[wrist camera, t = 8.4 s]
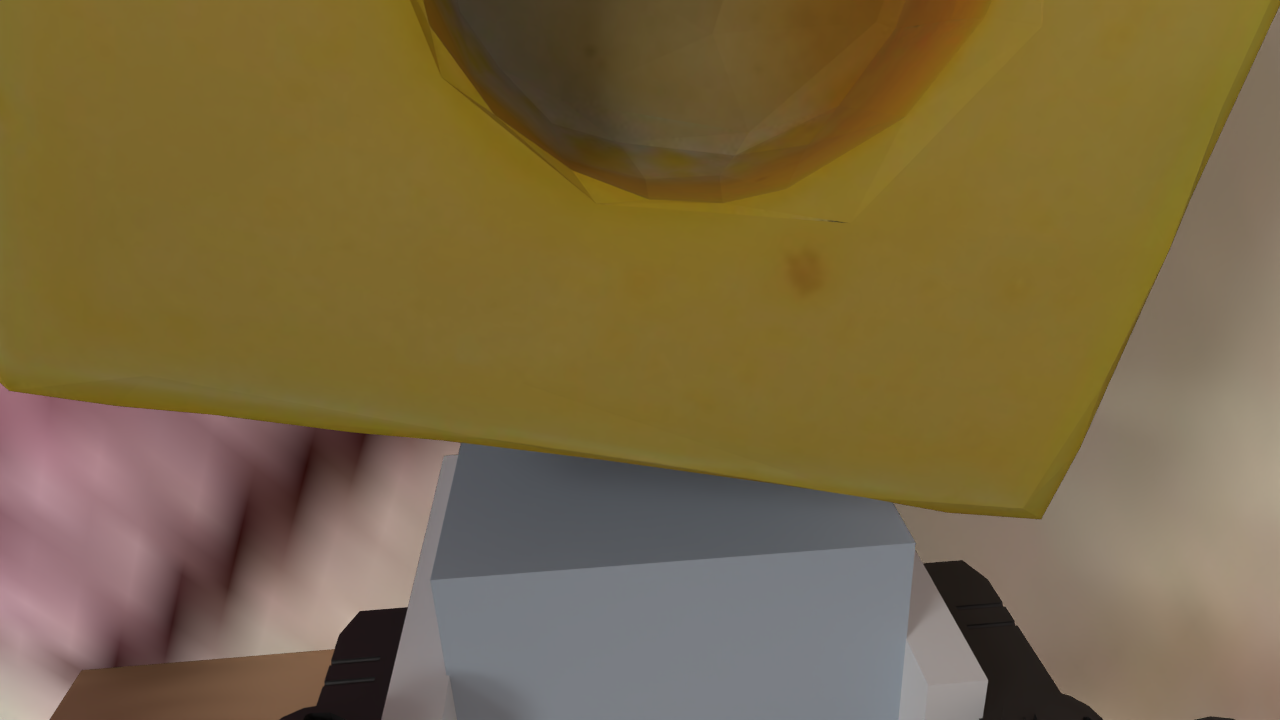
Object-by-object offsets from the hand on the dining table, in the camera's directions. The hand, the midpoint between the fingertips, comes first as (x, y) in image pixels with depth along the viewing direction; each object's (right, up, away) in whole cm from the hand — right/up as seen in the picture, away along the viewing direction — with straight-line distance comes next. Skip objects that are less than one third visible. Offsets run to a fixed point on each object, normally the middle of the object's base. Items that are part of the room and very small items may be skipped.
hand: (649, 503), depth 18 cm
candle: (-1, +10, -2) cm, 10 cm away
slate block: (0, 0, 0) cm, 0 cm away
